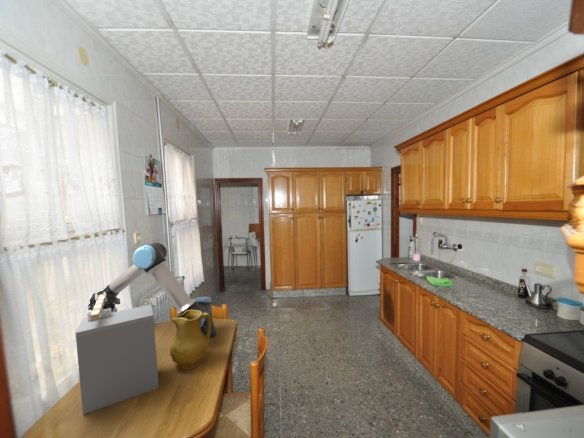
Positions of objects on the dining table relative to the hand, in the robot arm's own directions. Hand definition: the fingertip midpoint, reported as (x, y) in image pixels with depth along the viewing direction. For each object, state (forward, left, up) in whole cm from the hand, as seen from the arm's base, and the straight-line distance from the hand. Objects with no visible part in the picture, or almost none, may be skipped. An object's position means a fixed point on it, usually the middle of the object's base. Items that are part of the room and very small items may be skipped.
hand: (100, 295), depth 119 cm
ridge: (-6, +5, -8) cm, 11 cm away
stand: (-13, +2, -40) cm, 42 cm away
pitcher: (-29, -22, -40) cm, 54 cm away
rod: (-6, +5, -4) cm, 8 cm away
